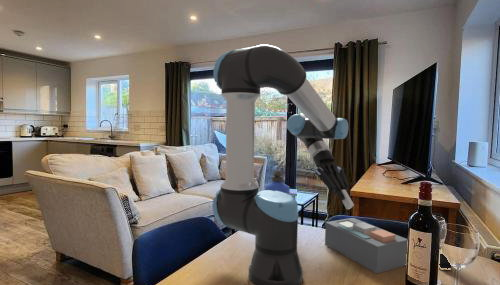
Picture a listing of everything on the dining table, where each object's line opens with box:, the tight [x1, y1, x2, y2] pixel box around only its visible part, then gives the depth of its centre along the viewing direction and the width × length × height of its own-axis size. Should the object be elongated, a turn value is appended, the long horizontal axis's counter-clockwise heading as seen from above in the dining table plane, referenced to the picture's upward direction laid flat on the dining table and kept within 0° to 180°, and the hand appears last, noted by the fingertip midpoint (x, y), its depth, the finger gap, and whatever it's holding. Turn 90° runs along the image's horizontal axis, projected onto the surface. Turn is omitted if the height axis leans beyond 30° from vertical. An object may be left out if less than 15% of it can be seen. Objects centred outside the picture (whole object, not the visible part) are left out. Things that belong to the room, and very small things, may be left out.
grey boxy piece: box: [324, 217, 407, 274], centre depth 99 cm, size 23×13×8 cm, turn 25°
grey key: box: [353, 221, 377, 237], centre depth 99 cm, size 5×5×3 cm
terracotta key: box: [370, 228, 395, 243], centre depth 92 cm, size 5×5×3 cm
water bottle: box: [264, 170, 291, 195], centre depth 114 cm, size 9×9×25 cm
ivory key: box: [339, 221, 354, 229], centre depth 106 cm, size 5×5×3 cm
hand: (350, 207), depth 105 cm, fingers closed
